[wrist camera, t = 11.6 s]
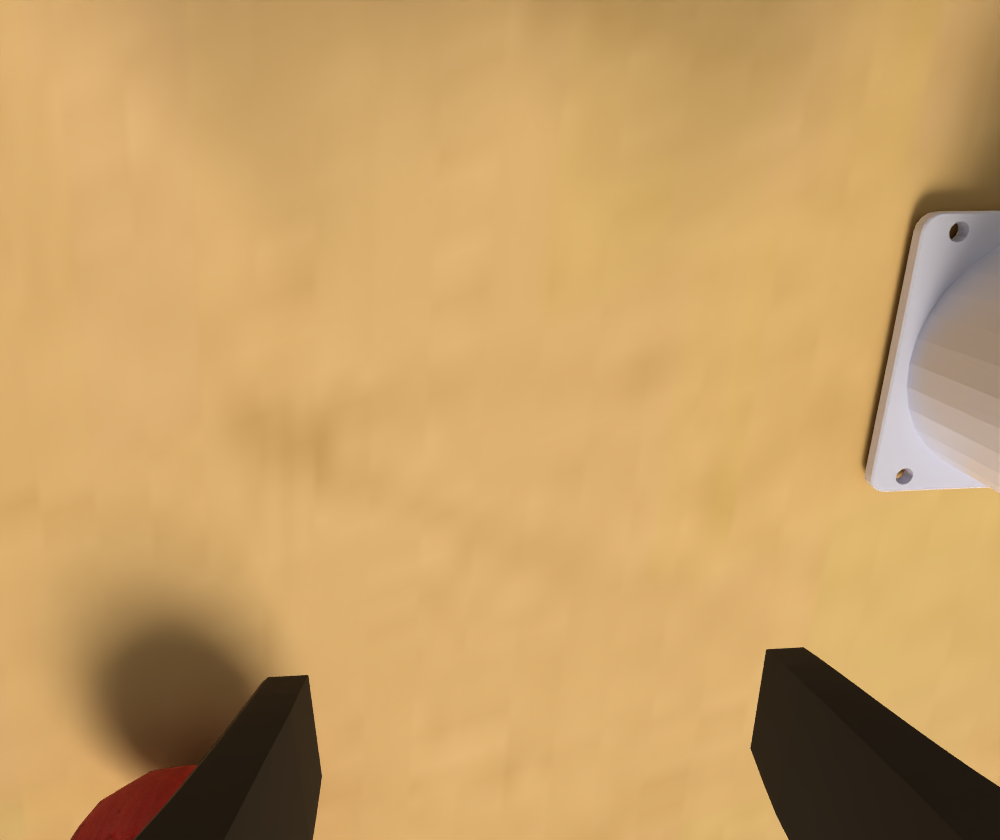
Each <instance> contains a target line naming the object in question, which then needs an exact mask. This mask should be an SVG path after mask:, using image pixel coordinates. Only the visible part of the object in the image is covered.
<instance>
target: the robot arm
mask: <svg viewBox="0 0 1000 840" xmlns="http://www.w3.org/2000/svg"><path fill="white" fill-rule="evenodd" d="M955 223H957V225H958V232H957V234H956V236H955V237H954V238H952V239H950V237H949V231H950V229H951V227H952V226H953V225H954V224H955ZM902 469H905V471H904V473H903V475H902V476H900V477H899V478H896V476H897V474H898V472H899V471H901V470H902ZM865 479H866V481H867V483H868V484H869V485H871V486H872V487H873V488H875V489H876V490H878V491H883V492H888V491H912V490H937V489H961V488H986V487H990V488H991V489H993V490H995V491H997V492H998V493H1000V210H998V211H935V212H930V213H928V214H926V215H924V216H923V217H921V219H920V220H919V221H918V222H917V224H916V226H915V229H914V231H913V236H912V241H911V246H910V251H909V256H908V261H907V266H906V271H905V276H904V281H903V286H902V291H901V296H900V301H899V306H898V311H897V316H896V321H895V326H894V331H893V336H892V341H891V346H890V351H889V356H888V361H887V366H886V371H885V376H884V381H883V386H882V391H881V396H880V401H879V406H878V411H877V416H876V421H875V426H874V431H873V436H872V441H871V446H870V451H869V456H868V461H867V466H866V471H865ZM751 751H752V754H753V756H754V759H755V762H756V764H757V767H758V770H759V772H760V775H761V778H762V780H763V783H764V786H765V788H766V791H767V793H768V796H769V798H770V800H771V803H772V805H773V808H774V810H775V813H776V815H777V817H778V819H779V821H780V823H781V825H782V827H783V829H784V831H785V833H786V835H787V837H788V839H789V840H1000V787H999V786H997V785H996V784H994V783H993V782H991V781H990V780H988V779H987V778H985V777H984V776H982V775H981V774H979V773H978V772H976V771H975V770H973V769H972V768H970V767H969V766H967V765H966V764H964V763H963V762H962V761H960V760H959V759H957V758H956V757H954V756H953V755H951V754H950V753H948V752H947V751H946V750H944V749H943V748H941V747H940V746H939V745H937V744H936V743H934V742H933V741H932V740H930V739H929V738H927V737H926V736H925V735H923V734H922V733H920V732H919V731H918V730H916V729H915V728H913V727H912V726H911V725H909V724H908V723H907V722H905V721H904V720H902V719H901V718H900V717H898V716H897V715H896V714H894V713H893V712H892V711H890V710H889V709H887V708H886V707H885V706H883V705H882V704H881V703H879V702H878V701H877V700H875V699H874V698H873V697H871V696H870V695H869V694H867V693H866V692H864V691H863V690H862V689H860V688H859V687H858V686H856V685H855V684H854V683H852V682H851V681H850V680H848V679H847V678H846V677H844V676H843V675H842V674H840V673H839V672H838V671H836V670H835V669H833V668H832V667H831V666H829V665H828V664H827V663H825V662H824V661H822V660H821V659H820V658H818V657H817V656H815V655H814V654H812V653H811V652H809V651H808V650H807V649H805V648H804V647H801V648H783V649H766V655H765V661H764V667H763V674H762V680H761V686H760V692H759V699H758V705H757V711H756V717H755V724H754V730H753V736H752V742H751ZM321 779H322V774H321V766H320V759H319V752H318V744H317V737H316V729H315V722H314V714H313V707H312V700H311V692H310V685H309V677H308V675H301V676H283V677H268V678H267V679H266V680H265V681H264V682H263V683H261V685H260V686H259V687H258V689H257V690H256V691H255V693H254V694H253V695H252V696H251V698H250V699H249V700H248V702H247V703H246V704H245V706H244V707H243V708H242V710H241V711H240V712H239V714H238V715H237V716H236V717H235V719H234V720H233V721H232V723H231V724H230V725H229V726H228V728H227V729H226V730H225V732H224V733H223V734H222V735H221V737H220V738H219V739H218V740H217V742H216V743H215V744H214V746H213V747H212V748H211V749H210V751H209V752H208V753H207V754H206V756H205V757H204V758H203V759H202V760H201V762H200V763H199V764H198V765H197V766H196V768H195V769H194V770H193V771H192V773H191V774H190V775H189V776H188V777H187V779H186V780H185V781H184V782H183V783H182V785H181V786H180V787H179V788H178V789H177V791H176V792H175V793H174V794H173V795H172V797H171V798H170V799H169V800H168V801H167V803H166V804H165V805H164V806H163V807H162V808H161V809H160V811H159V812H158V813H157V814H156V815H155V816H154V817H153V818H152V820H151V821H150V822H149V823H148V824H147V825H146V826H145V827H144V828H143V830H142V831H141V832H140V833H139V834H138V835H137V836H136V837H135V838H134V840H313V834H314V828H315V821H316V815H317V808H318V800H319V793H320V786H321Z"/></svg>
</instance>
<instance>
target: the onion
mask: <svg viewBox="0 0 1000 840" xmlns="http://www.w3.org/2000/svg"><path fill="white" fill-rule="evenodd" d="M196 766H197V765H188V766H180V767H171V768H165V769H160V770H155V771H150V772H148V773H147V774H145V775H143V776H141V777H140V778H138V779H136V780H135V781H133V782H131V783H129V784H128V785H126V786H124V787H123V788H121V789H119V790H118V791H116V792H115V793H113V794H111V795H110V796H108V797H106V798H105V799H103V800H102V801H100V802H99V803H98V804H97V806H96V807H95V808H94V809H93V810H92V812H91V813H90V814H89V815H88V816H87V817H86V819H85V820H84V821H83V822H82V823H81V825H80V826H79V827H78V829H77V830H76V832H75V833H74V835H73V836H72V838H71V839H70V840H134V838H135V837H136V836H137V835H138V834H139V833H140V832H141V831H142V830H143V828H144V827H145V826H146V825H147V824H148V823H149V822H150V821H151V820H152V818H153V817H154V816H155V815H156V814H157V813H158V812H159V811H160V809H161V808H162V807H163V806H164V805H165V804H166V803H167V801H168V800H169V799H170V798H171V797H172V795H173V794H174V793H175V792H176V791H177V789H178V788H179V787H180V786H181V785H182V783H183V782H184V781H185V780H186V779H187V777H188V776H189V775H190V774H191V773H192V771H193V770H194V769H195V768H196Z"/></svg>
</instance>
